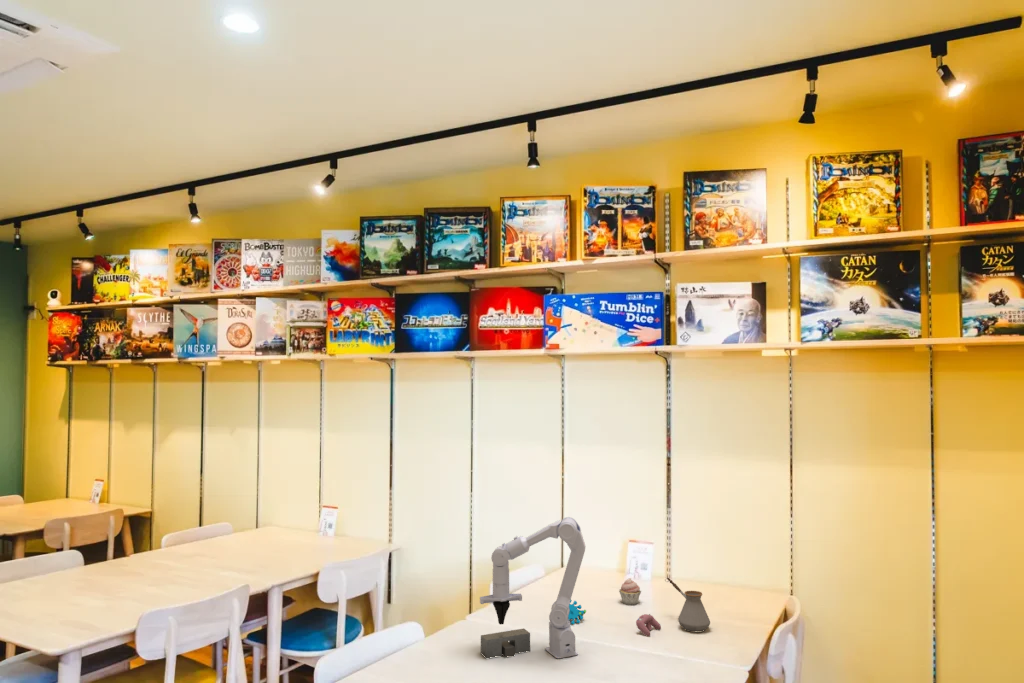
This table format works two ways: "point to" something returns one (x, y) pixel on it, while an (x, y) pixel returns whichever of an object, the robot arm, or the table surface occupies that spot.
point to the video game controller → (647, 624)
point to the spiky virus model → (575, 612)
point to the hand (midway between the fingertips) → (501, 623)
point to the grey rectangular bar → (508, 649)
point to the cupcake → (630, 592)
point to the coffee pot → (692, 611)
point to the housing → (493, 642)
